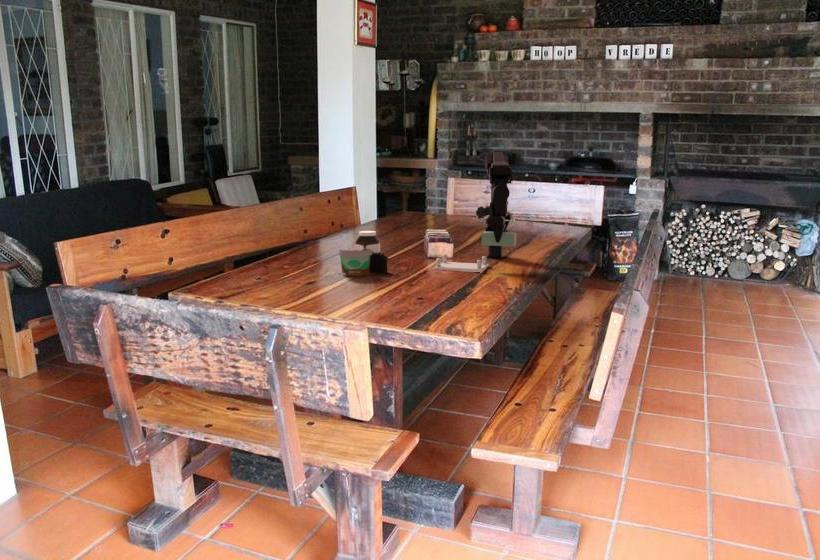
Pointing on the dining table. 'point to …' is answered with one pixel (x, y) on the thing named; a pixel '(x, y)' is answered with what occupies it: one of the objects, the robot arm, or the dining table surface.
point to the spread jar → (367, 241)
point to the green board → (505, 240)
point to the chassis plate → (461, 265)
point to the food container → (355, 263)
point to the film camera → (378, 263)
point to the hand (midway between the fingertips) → (498, 241)
